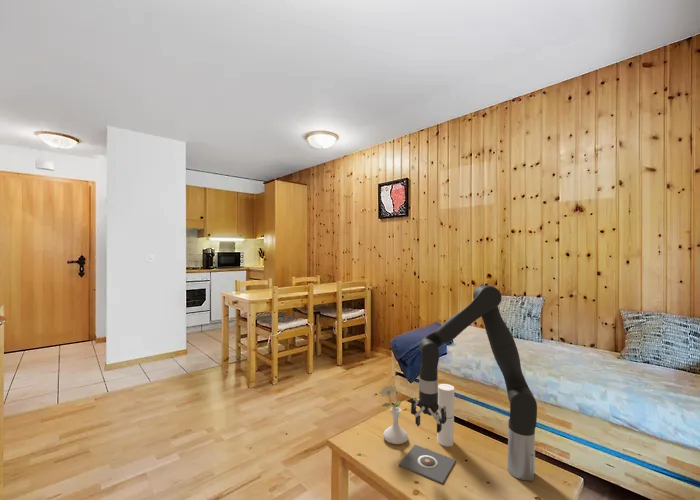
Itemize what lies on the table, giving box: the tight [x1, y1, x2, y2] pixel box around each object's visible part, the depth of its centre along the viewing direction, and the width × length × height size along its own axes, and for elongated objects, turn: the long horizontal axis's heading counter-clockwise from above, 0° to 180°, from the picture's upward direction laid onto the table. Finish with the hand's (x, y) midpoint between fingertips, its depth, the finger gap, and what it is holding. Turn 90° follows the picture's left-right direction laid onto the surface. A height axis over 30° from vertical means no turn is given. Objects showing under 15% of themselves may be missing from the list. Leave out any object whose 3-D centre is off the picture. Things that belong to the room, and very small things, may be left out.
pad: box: [398, 444, 457, 485], centre depth 136 cm, size 18×16×1 cm
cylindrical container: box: [436, 383, 455, 447], centre depth 151 cm, size 7×7×25 cm
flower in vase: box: [379, 384, 409, 445], centre depth 152 cm, size 13×11×25 cm
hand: (428, 428), depth 135 cm, fingers open, 8 cm apart
